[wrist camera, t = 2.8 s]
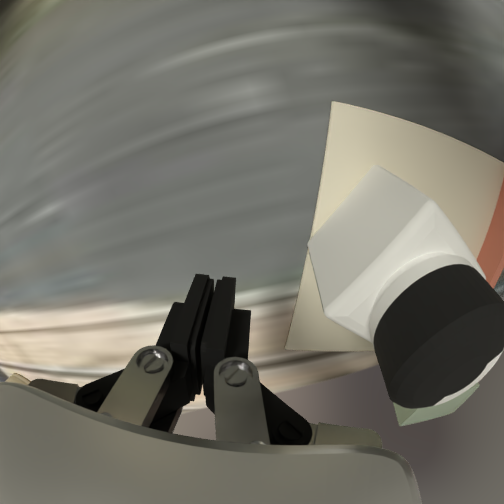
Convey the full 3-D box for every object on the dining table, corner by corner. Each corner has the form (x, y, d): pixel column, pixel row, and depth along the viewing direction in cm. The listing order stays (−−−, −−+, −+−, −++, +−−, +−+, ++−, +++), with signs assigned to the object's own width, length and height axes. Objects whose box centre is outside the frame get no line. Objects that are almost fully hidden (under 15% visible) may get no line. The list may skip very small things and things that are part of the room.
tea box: (390, 312, 21) (426, 399, 13) (440, 312, 21) (480, 385, 13) (374, 344, 23) (399, 426, 15) (423, 341, 23) (453, 412, 15)
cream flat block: (331, 101, 14) (346, 100, 11) (512, 167, 14) (535, 179, 11) (284, 348, 23) (286, 374, 21) (435, 345, 23) (445, 365, 21)
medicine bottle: (304, 243, 18) (338, 413, 8) (374, 160, 15) (515, 264, 5) (371, 291, 20) (425, 429, 9) (434, 225, 17) (534, 340, 6)
